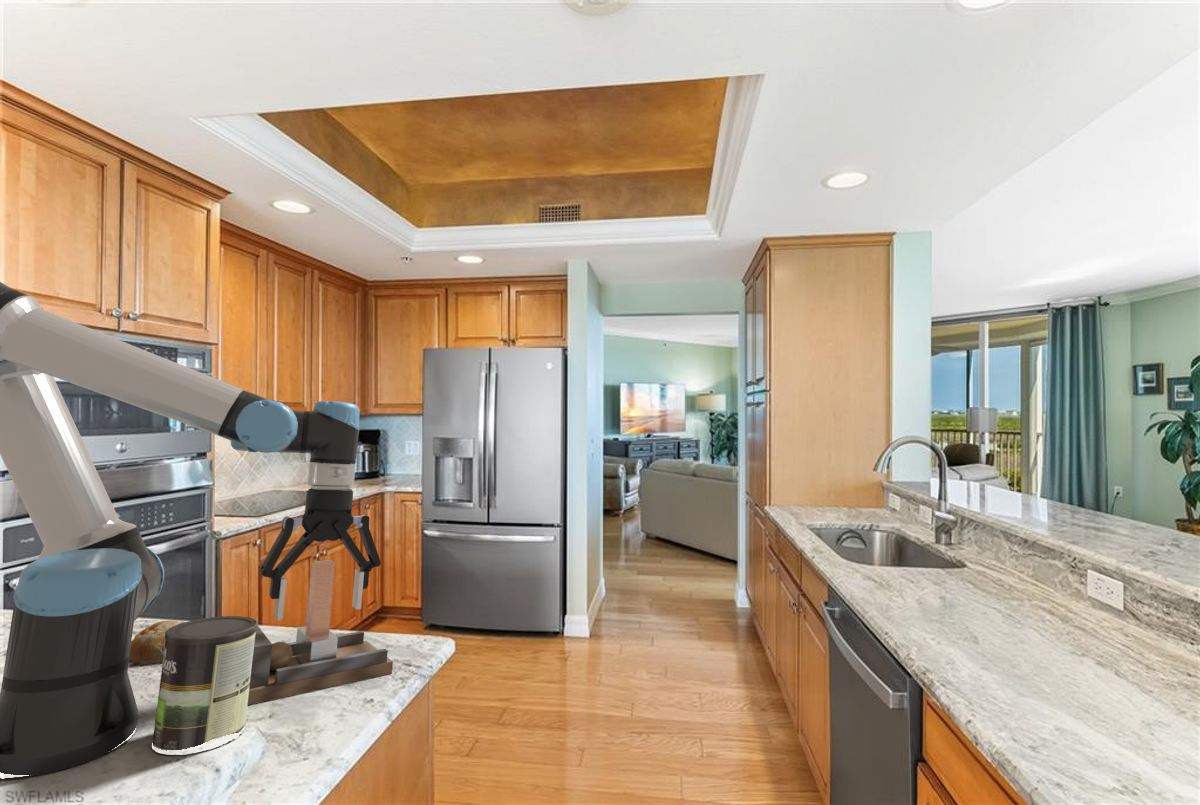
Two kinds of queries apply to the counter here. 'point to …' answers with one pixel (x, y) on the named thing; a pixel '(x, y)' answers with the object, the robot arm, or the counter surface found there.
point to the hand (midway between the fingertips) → (318, 613)
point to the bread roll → (150, 643)
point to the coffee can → (204, 681)
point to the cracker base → (311, 667)
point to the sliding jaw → (318, 617)
